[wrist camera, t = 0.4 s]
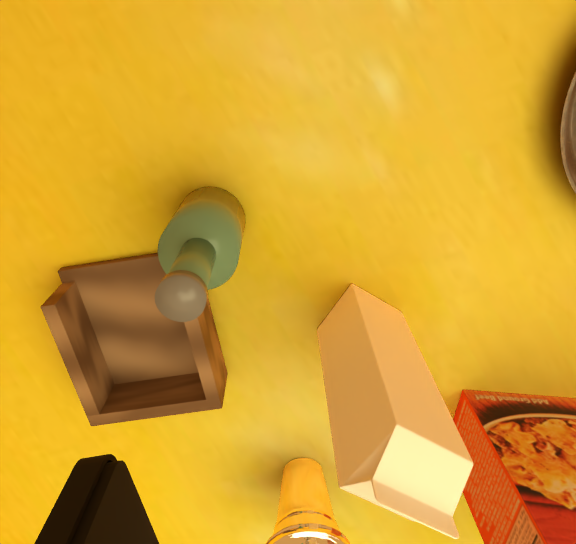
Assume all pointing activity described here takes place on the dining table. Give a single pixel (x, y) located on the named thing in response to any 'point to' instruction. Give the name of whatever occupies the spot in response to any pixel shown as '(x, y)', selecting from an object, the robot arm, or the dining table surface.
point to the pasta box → (520, 466)
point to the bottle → (198, 251)
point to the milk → (389, 415)
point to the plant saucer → (569, 134)
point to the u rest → (132, 344)
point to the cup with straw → (305, 507)
